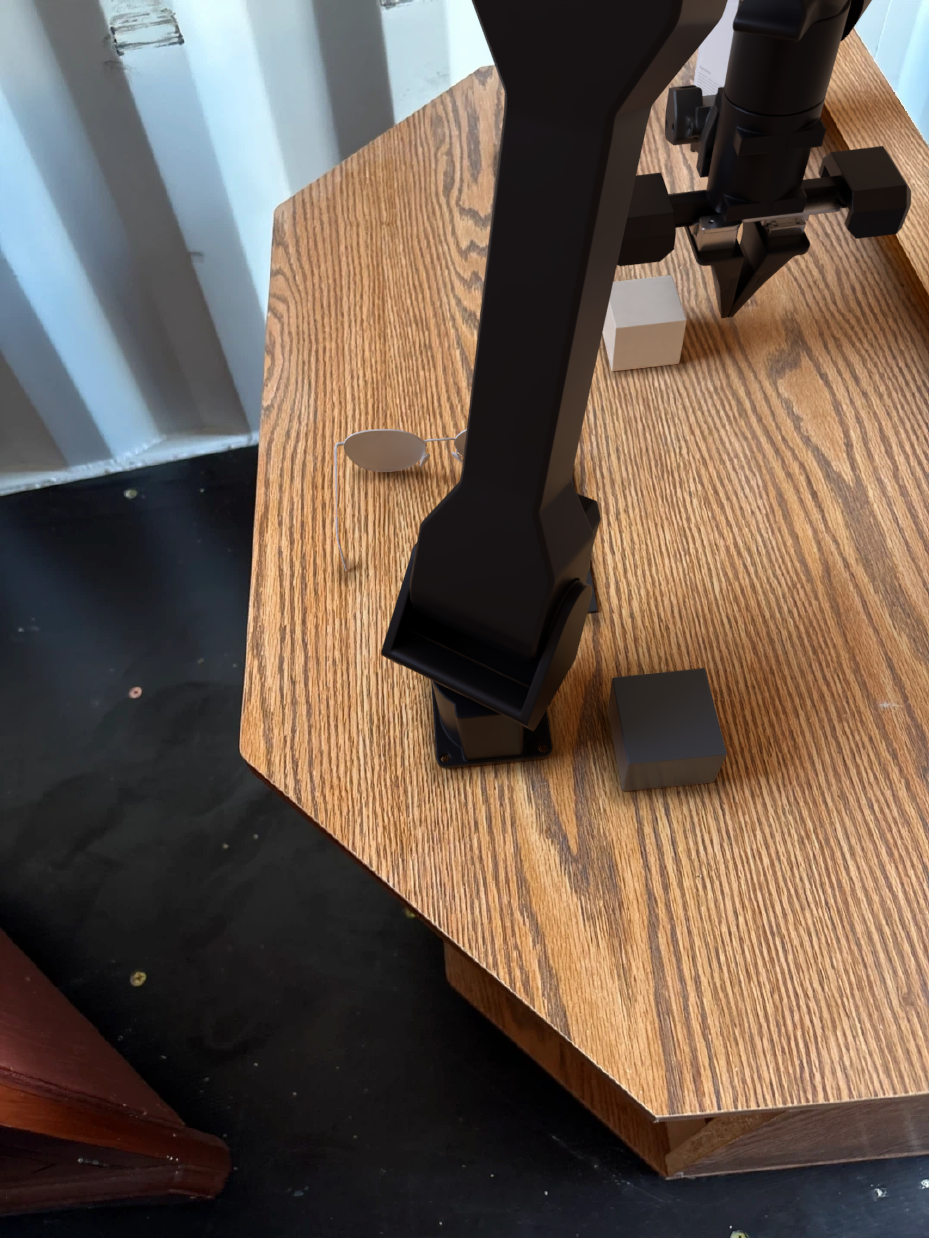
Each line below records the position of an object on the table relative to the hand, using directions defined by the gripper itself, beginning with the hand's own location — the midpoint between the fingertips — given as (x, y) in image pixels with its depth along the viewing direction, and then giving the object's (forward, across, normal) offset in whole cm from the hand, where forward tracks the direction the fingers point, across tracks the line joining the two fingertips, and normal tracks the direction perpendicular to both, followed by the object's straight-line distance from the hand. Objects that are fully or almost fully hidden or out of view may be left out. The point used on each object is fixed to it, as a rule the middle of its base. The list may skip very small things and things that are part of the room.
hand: (725, 314), depth 62 cm
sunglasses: (+2, +22, +14) cm, 26 cm away
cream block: (+2, +6, 0) cm, 6 cm away
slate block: (+2, +11, +32) cm, 34 cm away
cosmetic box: (+2, -8, -26) cm, 27 cm away
